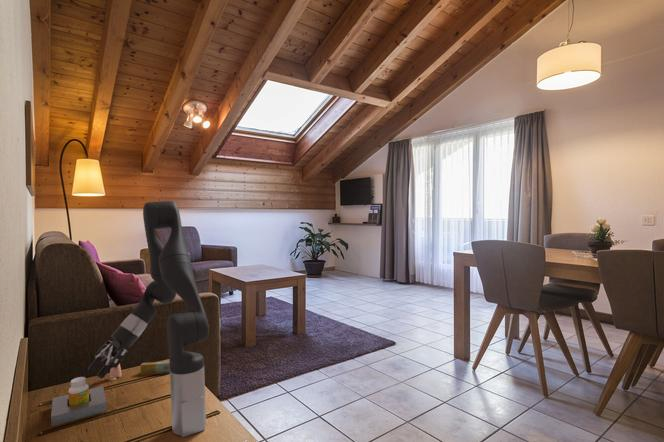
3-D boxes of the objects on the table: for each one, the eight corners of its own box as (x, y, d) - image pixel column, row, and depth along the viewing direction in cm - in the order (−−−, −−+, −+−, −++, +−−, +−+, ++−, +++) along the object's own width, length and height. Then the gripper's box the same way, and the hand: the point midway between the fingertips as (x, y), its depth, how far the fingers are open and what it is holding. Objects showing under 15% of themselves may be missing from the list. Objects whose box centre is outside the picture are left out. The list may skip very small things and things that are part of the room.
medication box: (174, 370, 150) (174, 360, 150) (172, 373, 148) (171, 363, 148) (143, 372, 150) (142, 362, 150) (140, 375, 147) (139, 364, 147)
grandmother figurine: (115, 382, 141) (114, 348, 140) (105, 382, 141) (103, 348, 141) (126, 373, 148) (125, 341, 148) (117, 373, 149) (115, 341, 148)
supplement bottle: (79, 414, 118) (78, 383, 118) (65, 413, 119) (63, 382, 119) (93, 405, 124) (92, 376, 123) (79, 404, 125) (78, 375, 124)
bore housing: (106, 411, 120) (106, 402, 120) (51, 426, 112) (51, 416, 112) (103, 394, 131) (103, 386, 131) (53, 407, 123) (52, 398, 123)
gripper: (113, 321, 136) (77, 363, 127) (130, 328, 126) (92, 374, 118) (129, 332, 140) (96, 373, 132) (146, 340, 131) (111, 385, 122)
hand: (94, 373), depth 125 cm, fingers open, 8 cm apart
